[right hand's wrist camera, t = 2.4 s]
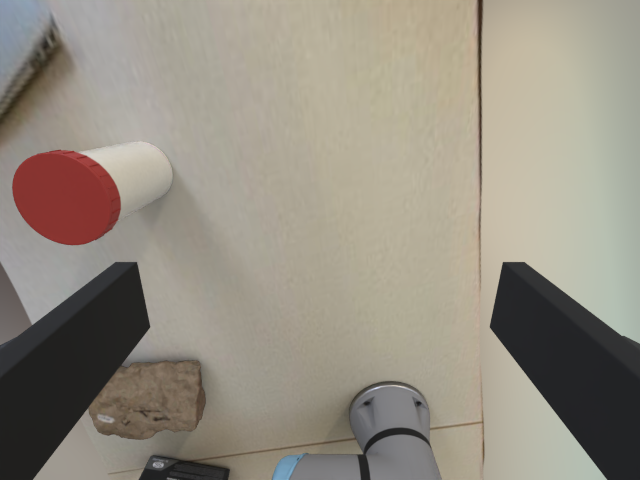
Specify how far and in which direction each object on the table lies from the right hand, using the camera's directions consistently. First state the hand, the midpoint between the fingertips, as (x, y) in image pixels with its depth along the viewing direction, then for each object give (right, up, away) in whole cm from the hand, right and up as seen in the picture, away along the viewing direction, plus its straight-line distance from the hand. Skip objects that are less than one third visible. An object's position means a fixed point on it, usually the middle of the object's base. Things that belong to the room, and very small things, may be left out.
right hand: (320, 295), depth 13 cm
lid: (-26, +6, +23) cm, 35 cm away
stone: (-32, -25, +53) cm, 67 cm away
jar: (-26, +12, +39) cm, 48 cm away
